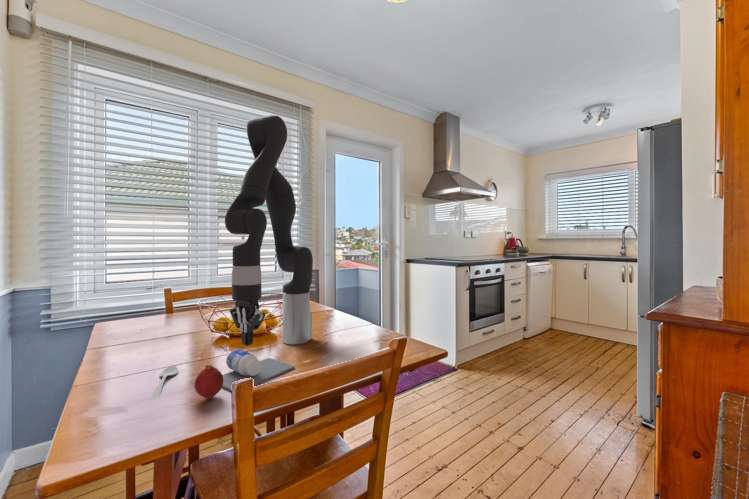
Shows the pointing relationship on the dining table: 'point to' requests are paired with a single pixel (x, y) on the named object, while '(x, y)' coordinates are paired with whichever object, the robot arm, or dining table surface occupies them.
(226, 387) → the mat
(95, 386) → the dining table surface
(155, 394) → the spoon
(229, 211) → the robot arm
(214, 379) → the onion
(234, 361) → the pill bottle
